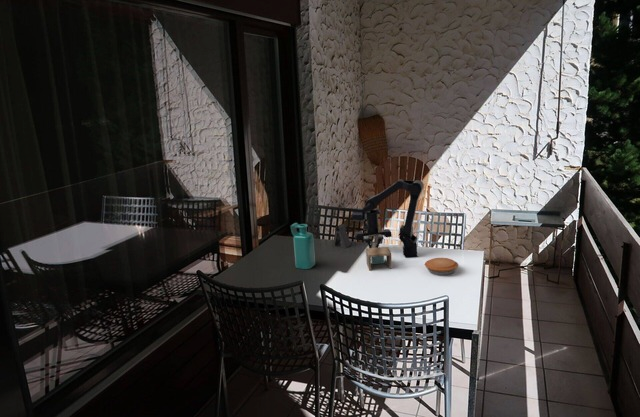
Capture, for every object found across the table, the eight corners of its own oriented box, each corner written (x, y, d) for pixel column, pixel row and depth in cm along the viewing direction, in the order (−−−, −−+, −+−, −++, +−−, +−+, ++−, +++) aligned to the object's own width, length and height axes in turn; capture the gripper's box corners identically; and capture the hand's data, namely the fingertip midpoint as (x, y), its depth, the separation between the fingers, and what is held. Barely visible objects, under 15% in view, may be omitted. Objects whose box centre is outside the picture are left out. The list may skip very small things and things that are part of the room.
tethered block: (379, 251, 276) (378, 241, 274) (384, 263, 259) (383, 251, 257) (367, 252, 276) (367, 241, 274) (372, 263, 259) (371, 252, 257)
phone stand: (351, 245, 290) (350, 224, 287) (345, 248, 285) (344, 227, 283) (337, 243, 295) (336, 223, 292) (331, 246, 291) (330, 225, 288)
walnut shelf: (388, 261, 261) (388, 246, 259) (391, 269, 251) (391, 253, 249) (366, 263, 260) (366, 248, 258) (369, 270, 251) (368, 255, 249)
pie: (434, 279, 235) (434, 269, 234) (419, 268, 250) (418, 258, 248) (464, 274, 239) (464, 263, 238) (447, 263, 253) (447, 253, 252)
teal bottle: (316, 264, 265) (313, 222, 259) (309, 269, 257) (306, 227, 252) (299, 262, 269) (296, 221, 263) (292, 268, 261) (288, 226, 256)
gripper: (387, 216, 278) (388, 243, 282) (353, 218, 278) (354, 246, 282) (391, 221, 267) (392, 250, 271) (355, 224, 267) (356, 253, 271)
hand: (373, 249), depth 274 cm, fingers closed on tethered block, 3 cm apart
